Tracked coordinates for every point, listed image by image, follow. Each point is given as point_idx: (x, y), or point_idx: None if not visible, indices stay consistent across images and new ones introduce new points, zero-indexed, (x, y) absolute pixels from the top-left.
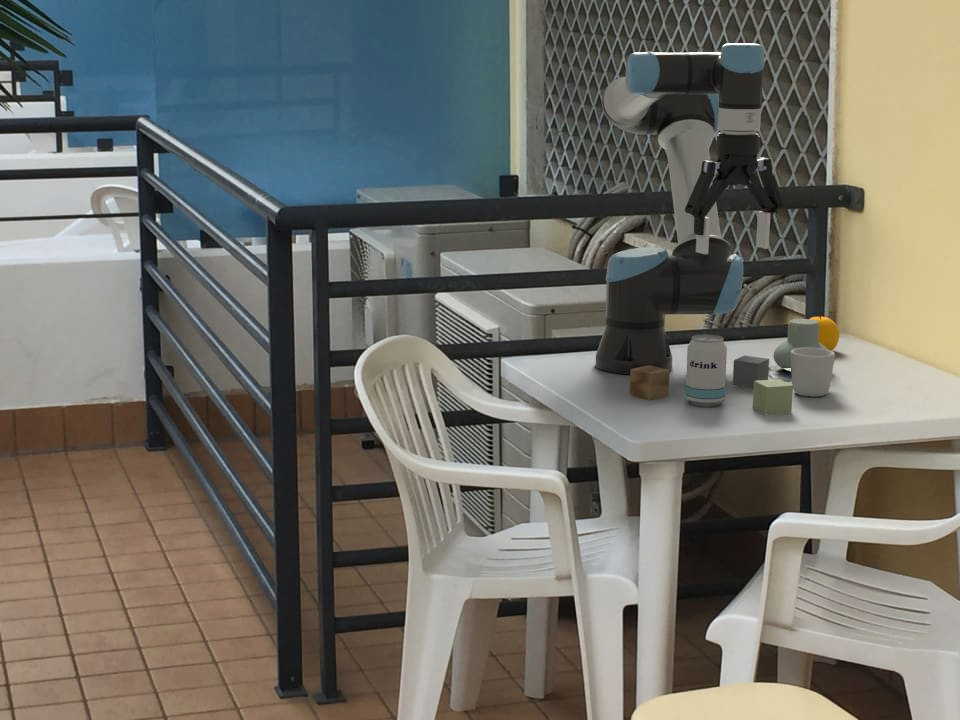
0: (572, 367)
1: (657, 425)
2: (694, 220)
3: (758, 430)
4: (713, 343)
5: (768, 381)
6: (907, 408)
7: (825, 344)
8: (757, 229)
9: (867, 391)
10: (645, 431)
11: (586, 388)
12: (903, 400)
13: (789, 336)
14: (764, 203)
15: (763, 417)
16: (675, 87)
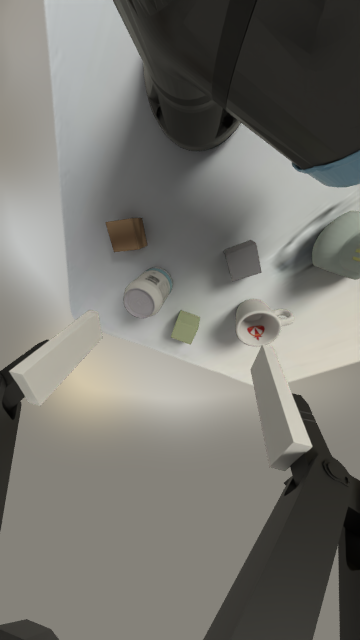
0: None
1: (97, 302)
2: (7, 367)
3: (146, 343)
4: (136, 315)
5: (184, 328)
6: None
7: None
8: (272, 380)
9: (295, 331)
10: (84, 307)
11: (92, 167)
12: (285, 358)
13: (352, 244)
14: (273, 512)
15: (168, 329)
16: None
